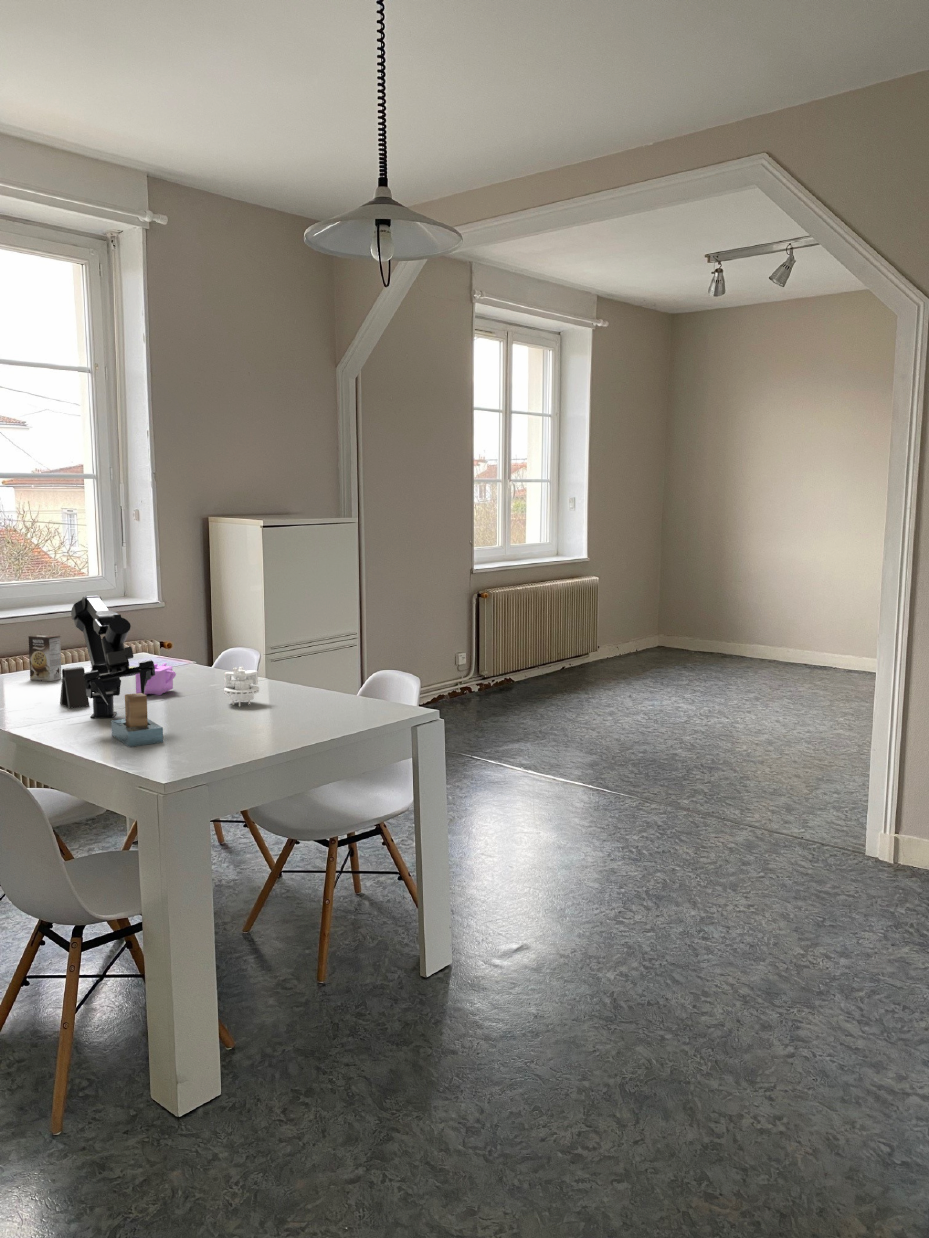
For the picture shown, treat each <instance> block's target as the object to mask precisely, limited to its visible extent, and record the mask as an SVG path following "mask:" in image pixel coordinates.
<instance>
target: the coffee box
mask: <svg viewBox="0 0 929 1238" xmlns="http://www.w3.org/2000/svg"><path fill="white" fill-rule="evenodd" d="M61 645H62V644H61V635H54V634H53V635H52V634H41V633H40V634H33V635H29V636H28V653H29V654H28V656H29V657H28V658H29V660H28V661H29V679H30V680H31V681H41V680H42V681H43V682H53V681H56V680H57V681H58V680H62V654H61V653H62V651H61V650H62V649H61V647H62V646H61Z"/></svg>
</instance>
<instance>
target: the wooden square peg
mask: <svg viewBox="0 0 929 1238" xmlns="http://www.w3.org/2000/svg"><path fill="white" fill-rule="evenodd" d="M147 696H148V695H145V694H143V693H136V692H135V693H128V694H124V706H125V707H124V708H125V709H124V711H125V719H126V726H127V727H137V726H145V725H148V721H147V718H148V697H147Z"/></svg>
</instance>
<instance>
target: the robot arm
mask: <svg viewBox="0 0 929 1238" xmlns="http://www.w3.org/2000/svg"><path fill="white" fill-rule="evenodd" d="M70 614H71V616H70V617H71V619H72V620H73V622H74V625H75V628H77V629H78V630H80V631H81V632H82V634H83V637H84V640H85V646H86V649H87V653H88V658H89V662H90V665H91V671H86V672H85V674H84V680H85V685H86V694H87V697H88V699H92V707H93V708H92V709H93V711H92V712H93V713H92V714H91V715H90V716H89V717H90V719H105V718H106V719H107V718H108V719H109V718H114V717H115V716H116V715H117V714H118V711H115V706H114V697H115V696H118V697H119V696H120V695H121V684H122V679H121V678H123V677H124V678H125V677H127V676H132V675H135V674H139V673H140V683H141V693H143V694H144V693H145V687H146V683H147V680H149V679H151V677H152V676H154V675H155V666H154V664H155V662H154V661H153V660H152V659H147V660H141V661H138V666H135V667H130V661H129V660H130V659H134V652H133V649H132V648H133V647H132V646H126V647H125V644H124V643H125V642H126V641H127V638H128V635H129V633H130V630H131V627H132V626H131V623H130V621H128V619H126V618H124V617H123V616H122V614H119V613H117V612H116V611H111V610H109V609H108V607H107V606H106V605H105V603H104V602H103V599H102V597H101V595H98V594H97V595H85V596H83V597H82V598H81V599H80V600H78V601H76V602H75V603H73V605H72V607H71V610H70ZM102 635H103V637H101V636H102Z"/></svg>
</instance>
